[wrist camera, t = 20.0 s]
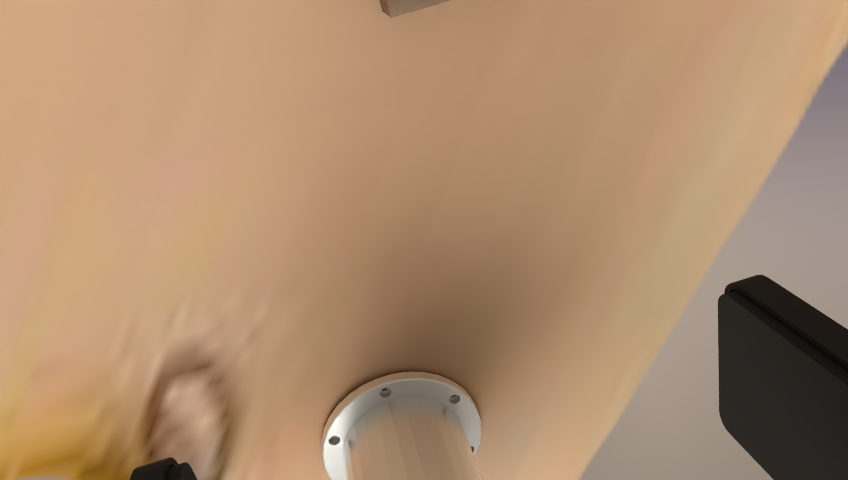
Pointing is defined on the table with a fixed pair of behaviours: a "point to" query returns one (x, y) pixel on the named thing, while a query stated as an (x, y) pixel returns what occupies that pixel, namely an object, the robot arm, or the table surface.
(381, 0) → the walnut tray
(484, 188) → the table surface
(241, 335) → the table surface
